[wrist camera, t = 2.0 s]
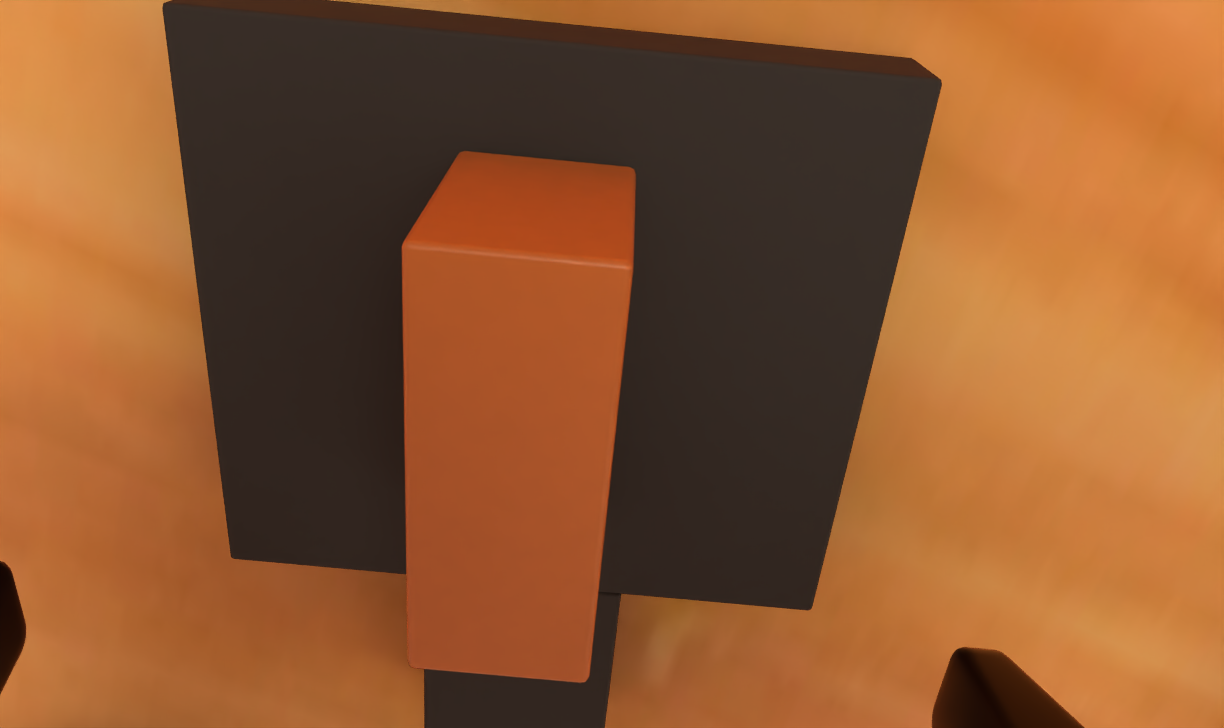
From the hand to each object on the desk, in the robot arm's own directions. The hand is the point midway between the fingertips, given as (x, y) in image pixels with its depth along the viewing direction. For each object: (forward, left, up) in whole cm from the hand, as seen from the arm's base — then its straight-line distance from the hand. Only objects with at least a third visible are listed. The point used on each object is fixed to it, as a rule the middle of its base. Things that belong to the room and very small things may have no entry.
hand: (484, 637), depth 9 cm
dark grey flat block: (0, +2, -7) cm, 8 cm away
